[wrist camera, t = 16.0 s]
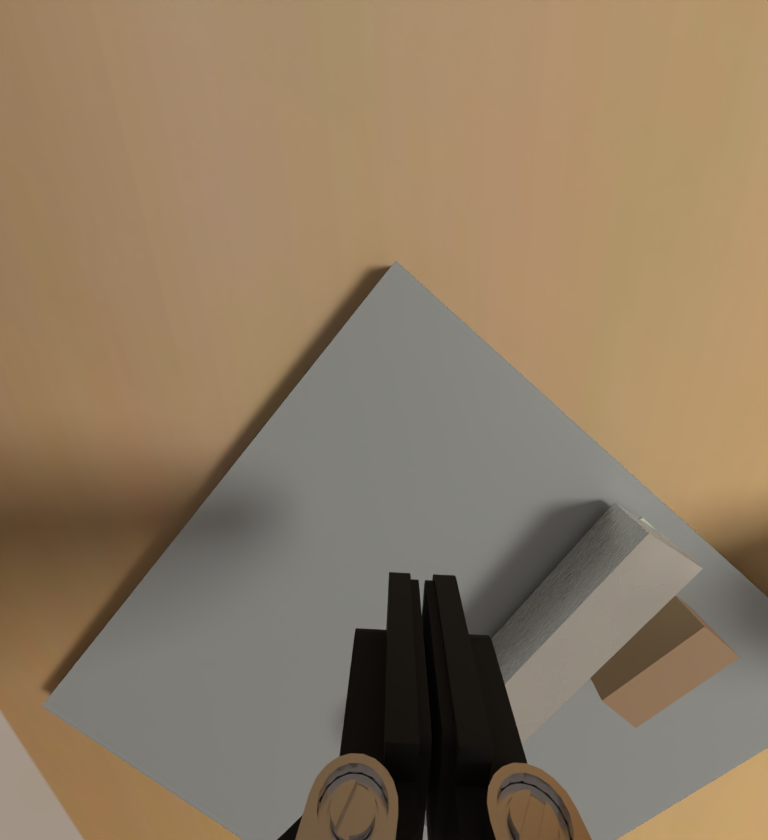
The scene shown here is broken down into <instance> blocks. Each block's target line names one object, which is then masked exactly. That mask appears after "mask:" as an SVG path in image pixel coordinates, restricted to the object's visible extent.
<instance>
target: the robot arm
mask: <svg viewBox="0 0 768 840" xmlns="http://www.w3.org/2000/svg"><path fill="white" fill-rule="evenodd" d="M425 812H426V820H427V837H428V840H592V839H591V837H590V835H589V833H588V831H587V828H586V826H585V824H584V822H583V820H582V818H581V816H580V814H579V812H578V810H577V808H576V806H575V805H574V803H573V801H572V800H571V798H570V796H569V795H568V793H567V792H566V791H565V789H564V788H563V787H562V786H561V785H560V784H559V783H558V782H557V781H556V780H555V779H554V778H553V777H552V776H550V775H549V774H547V773H546V772H544V771H543V770H542V769H540V768H537V767H535V766H532V765H530V764H528V763H527V760H526V757H525V753H524V750H523V746H522V743H521V739H520V736H519V732H518V729H517V725H516V722H515V718H514V715H513V712H512V708H511V705H510V701H509V698H508V694H507V691H506V687H505V684H504V680H503V677H502V673H501V670H500V667H499V663H498V660H497V656H496V653H495V649H494V646H493V643H492V640H491V638H490V636H489V635H475V634H469V633H468V629H467V624H466V620H465V615H464V611H463V606H462V602H461V597H460V593H459V588H458V584H457V579H456V576H455V575H437V574H434V575H433V578H432V580H425V583H424V594H423V607H422V612H421V601H420V589H419V580H415V579H411V575H410V573H397V572H389V583H388V604H387V624H386V630H381V629H362V628H356V629H355V635H354V643H353V651H352V659H351V667H350V675H349V683H348V691H347V699H346V707H345V715H344V723H343V732H342V740H341V748H340V756H339V757H337V758H336V759H334V760H333V761H331V762H330V763H328V764H327V765H326V766H325V767H324V768H323V770H322V771H321V772H320V773H319V774H318V776H317V777H316V779H315V781H314V783H313V786H312V788H311V790H310V792H309V796H308V799H307V802H306V806H305V809H304V812H303V815H302V816H301V817H300V818H299V819H298V820H297V821H296V822H295V823H294V824H293V825H292V826H291V827H290V828H289V829H288V830H287V831H286V832H285V833H283V834H282V835H281V836H280V837H279V838H278V839H277V840H423V832H424V822H425Z"/></svg>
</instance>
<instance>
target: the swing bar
mask: <svg viewBox="0 0 768 840" xmlns="http://www.w3.org/2000/svg"><path fill="white" fill-rule="evenodd" d="M702 569H703V568H702V567H701V566H699V565H698V564H697V563H696V562H695V561H694V560H692V559H691V558H690V557H689V556H688V555H687V554H685V553H684V552H683V551H682V550H681V549H680V548H678V547H677V546H676V545H675V544H674V543H672V542H671V541H670V540H669V539H668V538H667V537H665V536H664V535H663V534H662V533H661V532H659V531H658V530H656V529H655V528H653V527H651V526H650V525H648V524H647V523H645V522H644V521H642V520H641V519H639V518H638V517H636V516H635V515H633V514H632V513H630V512H629V511H627V510H625V509H624V508H622V507H621V506H619V505H618V504H616V503H615V502H614V503H613V505H612V506H611V507H610V508H609V509H608V510H607V511H606V512H605V513H604V515H603V516H602V517H601V518H600V519H599V520H598V521H597V522H596V523H595V525H594V526H593V527H592V528H591V529H590V530H589V531H588V532H587V533H586V534H585V536H584V537H583V538H582V539H581V540H580V541H579V542H578V543H577V544H576V546H575V547H574V548H573V549H572V550H571V551H570V552H569V553H568V554H567V556H566V557H565V558H564V559H563V560H562V561H561V562H560V563H559V564H558V566H557V567H556V568H555V569H554V570H553V571H552V572H551V573H550V574H549V576H548V577H547V578H546V579H545V580H544V581H543V582H542V583H541V584H540V586H539V587H538V588H537V589H536V590H535V591H534V592H533V593H532V594H531V596H530V597H529V598H528V599H527V600H526V601H525V602H524V603H523V604H522V606H521V607H520V608H519V609H518V610H517V611H516V612H515V613H514V614H513V616H512V617H511V618H510V619H509V620H508V621H507V622H506V623H505V624H504V626H503V627H502V628H501V629H500V630H499V631H498V632H497V633H496V634H495V636H494V637H493V638H492V639H491V640H492V643H493V646H494V649H495V653H496V656H497V660H498V663H499V667H500V670H501V673H502V677H503V680H504V684H505V687H506V691H507V694H508V698H509V701H510V705H511V708H512V712H513V715H514V718H515V722H516V725H517V729H518V732H519V736H520V739H521V743H522V744H523V743H524V742H525V741H526V740H527V739H528V738H529V737H530V736H531V735H532V734H533V733H534V732H535V731H536V730H537V729H538V728H539V727H540V726H541V725H542V724H543V723H544V722H545V721H546V720H547V719H548V718H549V717H550V716H552V715H553V714H554V713H555V712H556V711H557V710H558V709H559V708H560V707H561V706H562V705H563V704H564V703H565V702H566V701H567V700H568V699H569V698H570V697H571V696H572V695H573V694H574V693H575V692H576V691H577V690H578V689H579V688H580V687H581V686H582V685H583V684H584V683H586V682H587V681H588V680H589V679H590V678H591V677H592V676H593V675H594V674H595V673H596V672H597V671H598V670H599V669H600V668H601V667H602V666H603V665H604V664H605V663H606V662H607V661H608V660H609V659H610V658H611V657H612V656H613V655H614V654H615V653H616V652H617V651H619V650H620V649H621V648H622V647H623V646H624V645H625V644H626V643H627V642H628V641H629V640H630V639H631V638H632V637H633V636H634V635H635V634H636V633H637V632H638V631H639V630H640V629H641V628H642V627H643V626H644V625H645V624H646V623H647V622H648V621H649V620H650V619H652V618H653V617H654V616H655V615H656V614H657V613H658V612H659V611H660V610H661V609H662V608H663V607H664V606H665V605H666V604H667V603H668V602H669V601H670V600H671V599H672V598H673V597H674V596H675V595H676V594H677V593H678V592H679V591H680V590H681V589H682V588H683V587H685V586H686V585H687V584H688V583H689V582H690V581H691V580H692V579H693V578H694V577H695V576H696V575H697V574H698V573H699V572H700V571H701V570H702ZM424 825H425V826H427V820H426V812H425V822H424Z"/></svg>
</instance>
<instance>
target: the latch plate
mask: <svg viewBox="0 0 768 840" xmlns="http://www.w3.org/2000/svg"><path fill="white" fill-rule="evenodd" d="M614 502H615V503H616V504H618V505H619V506H621V507H622V508H624V509H625V510H627V511H629V512H630V513H632V514H633V515H635V516H636V517H638V518H639V519H641V520H642V521H644V522H645V523H647V524H648V525H650V526H651V527H653V528H655V529H656V530H658V531H659V532H661V533H662V534H663V535H664V536H665V537H667V538H668V539H669V540H670V541H671V542H672V543H674V544H675V545H676V546H677V547H678V548H680V549H681V550H682V551H683V552H684V553H685V554H687V555H688V556H689V557H690V558H691V559H692V560H694V561H695V562H696V563H697V564H698V565H699V566H701V567H702V568H703V569H702V570H701V571H700V572H699V573H698V574H697V575H696V576H695V577H694V578H693V579H692V580H691V581H690V582H689V583H688V584H687V585H686V586H685V587H683V588H682V589H681V590H680V591H679V592H678V593H677V594H676V595H675V596H674V597H673V598H672V599H671V600H670V601H669V602H668V603H667V604H666V605H665V606H664V607H663V608H662V609H661V610H660V611H659V612H658V613H657V614H656V615H655V616H654V617H653V618H652V619H650V620H649V621H648V622H647V623H646V624H645V625H644V626H643V627H642V628H641V629H640V630H639V631H638V632H637V633H636V634H635V635H634V636H633V637H632V638H631V639H630V640H629V641H628V642H627V643H626V644H625V645H624V646H623V647H622V648H621V649H620V650H619V651H617V652H616V653H615V654H614V655H613V656H612V657H611V658H610V659H609V660H608V661H607V662H606V663H605V664H604V665H603V666H602V667H601V668H600V669H599V670H598V671H597V672H596V673H595V674H594V675H593V676H592V677H591V678H590V679H589V680H588V681H587V682H586V683H584V684H583V685H582V686H581V687H580V688H579V689H578V690H577V691H576V692H575V693H574V694H573V695H572V696H571V697H570V698H569V699H568V700H567V701H566V702H565V703H564V704H563V705H562V706H561V707H560V708H559V709H558V710H557V711H556V712H555V713H554V714H553V715H552V716H550V717H549V718H548V719H547V720H546V721H545V722H544V723H543V724H542V725H541V726H540V727H539V728H538V729H537V730H536V731H535V732H534V733H533V734H532V735H531V736H530V737H529V738H528V739H527V740H526V741H525V742H524V743H523V744H522V746H523V750H524V753H525V757H526V760H527V763H528V764H530V765H532V766H535V767H537V768H540V769H542V770H543V771H544V772H546V773H547V774H549V775H550V776H552V777H553V778H554V779H555V780H556V781H557V782H558V783H559V784H560V785H561V786H562V787H563V788H564V789H565V791H566V792H567V793H568V795H569V796H570V798H571V800H572V801H573V803H574V805H575V806H576V808H577V810H578V812H579V814H580V816H581V818H582V820H583V822H584V824H585V826H586V828H587V831H588V833H589V835H590V837H591V839H592V840H616V839H618V838H620V837H621V836H623V835H625V834H626V833H628V832H630V831H631V830H633V829H635V828H636V827H638V826H639V825H641V824H643V823H644V822H646V821H648V820H649V819H651V818H653V817H654V816H656V815H658V814H659V813H661V812H663V811H664V810H666V809H667V808H669V807H671V806H672V805H674V804H676V803H677V802H679V801H681V800H682V799H684V798H686V797H687V796H689V795H690V794H692V793H694V792H695V791H697V790H699V789H700V788H702V787H704V786H705V785H707V784H709V783H710V782H712V781H714V780H715V779H717V778H718V777H720V776H722V775H723V774H725V773H727V772H728V771H730V770H732V769H733V768H735V767H737V766H738V765H740V764H742V763H743V762H745V761H746V760H748V759H750V758H751V757H753V756H755V755H756V754H758V753H760V752H761V751H763V750H765V749H766V748H768V597H767V596H766V595H765V594H764V593H763V592H762V591H760V590H759V589H758V588H757V587H756V586H755V585H754V584H753V583H752V582H750V581H749V580H748V579H747V578H746V577H745V576H744V575H743V574H742V573H741V572H739V571H738V570H737V569H736V568H735V567H734V566H733V565H732V564H731V563H729V562H728V561H727V560H726V559H725V558H724V557H723V556H722V555H721V554H720V553H718V552H717V551H716V550H715V549H714V548H713V547H712V546H711V545H710V544H708V543H707V542H706V541H705V540H704V539H703V538H702V537H701V536H700V535H699V534H697V533H696V532H695V531H694V530H693V529H692V528H691V527H690V526H689V525H687V524H686V523H685V522H684V521H683V520H682V519H681V518H680V517H679V516H678V515H676V514H675V513H674V512H673V511H672V510H671V509H670V508H669V507H668V506H666V505H665V504H664V503H663V502H662V501H661V500H660V499H659V498H658V497H657V496H655V495H654V494H653V493H652V492H651V491H650V490H649V489H648V488H647V487H645V486H644V485H643V484H642V483H641V482H640V481H639V480H638V479H637V478H636V477H634V476H633V475H632V474H631V473H630V472H629V471H628V470H627V469H626V468H624V467H623V466H622V465H621V464H620V463H619V462H618V461H617V460H616V459H615V458H613V457H612V456H611V455H610V454H609V453H608V452H607V451H606V450H605V449H603V448H602V447H601V446H600V445H599V444H598V443H597V442H596V441H595V440H594V439H592V438H591V437H590V436H589V435H588V434H587V433H586V432H585V431H584V430H582V429H581V428H580V427H579V426H578V425H577V424H576V423H575V422H574V421H573V420H571V419H570V418H569V417H568V416H567V415H566V414H565V413H564V412H563V411H561V410H560V409H559V408H558V407H557V406H556V405H555V404H554V403H553V402H552V401H550V400H549V399H548V398H547V397H546V396H545V395H544V394H543V393H542V392H540V391H539V390H538V389H537V388H536V387H535V386H534V385H533V384H532V383H531V382H529V381H528V380H527V379H526V378H525V377H524V376H523V375H522V374H521V373H519V372H518V371H517V370H516V369H515V368H514V367H513V366H512V365H511V364H510V363H508V362H507V361H506V360H505V359H504V358H503V357H502V356H501V355H500V354H498V353H497V352H496V351H495V350H494V349H493V348H492V347H491V346H490V345H489V344H487V343H486V342H485V341H484V340H483V339H482V338H481V337H480V336H479V335H477V334H476V333H475V332H474V331H473V330H472V329H471V328H470V327H469V326H468V325H466V324H465V323H464V322H463V321H462V320H461V319H460V318H459V317H458V316H456V315H455V314H454V313H453V312H452V311H451V310H450V309H449V308H448V307H447V306H445V305H444V304H443V303H442V302H441V301H440V300H439V299H438V298H437V297H435V296H434V295H433V294H432V293H431V292H430V291H429V290H428V289H427V288H425V287H424V286H423V285H422V284H421V283H420V282H419V281H418V280H417V279H416V278H414V277H413V276H412V275H411V274H410V273H409V272H408V271H407V270H406V269H404V268H403V267H402V266H401V265H400V264H399V263H398V262H397V261H395V262H394V263H393V265H392V266H391V267H390V268H389V270H388V271H387V272H386V273H385V275H384V276H383V277H382V278H381V280H380V281H379V282H378V283H377V285H376V286H375V287H374V288H373V290H372V291H371V292H370V294H369V295H368V296H367V297H366V299H365V300H364V301H363V302H362V304H361V305H360V306H359V307H358V309H357V310H356V311H355V312H354V314H353V315H352V316H351V317H350V319H349V320H348V321H347V322H346V324H345V325H344V326H343V328H342V329H341V330H340V331H339V333H338V334H337V335H336V336H335V338H334V339H333V340H332V341H331V343H330V344H329V345H328V346H327V348H326V349H325V350H324V351H323V353H322V354H321V355H320V356H319V358H318V359H317V360H316V362H315V363H314V364H313V365H312V367H311V368H310V369H309V370H308V372H307V373H306V374H305V375H304V377H303V378H302V379H301V380H300V382H299V383H298V384H297V385H296V387H295V388H294V389H293V390H292V392H291V393H290V394H289V396H288V397H287V398H286V399H285V401H284V402H283V403H282V404H281V406H280V407H279V408H278V409H277V411H276V412H275V413H274V414H273V416H272V417H271V418H270V419H269V421H268V422H267V423H266V424H265V426H264V427H263V428H262V429H261V431H260V432H259V433H258V435H257V436H256V437H255V438H254V440H253V441H252V442H251V443H250V445H249V446H248V447H247V448H246V450H245V451H244V452H243V453H242V455H241V456H240V457H239V458H238V460H237V461H236V462H235V463H234V465H233V466H232V467H231V469H230V470H229V471H228V472H227V474H226V475H225V476H224V477H223V479H222V480H221V481H220V482H219V484H218V485H217V486H216V487H215V489H214V490H213V491H212V492H211V494H210V495H209V496H208V497H207V499H206V500H205V501H204V503H203V504H202V505H201V506H200V508H199V509H198V510H197V511H196V513H195V514H194V515H193V516H192V518H191V519H190V520H189V521H188V523H187V524H186V525H185V526H184V528H183V529H182V530H181V531H180V533H179V534H178V535H177V536H176V538H175V539H174V540H173V542H172V543H171V544H170V545H169V547H168V548H167V549H166V550H165V552H164V553H163V554H162V555H161V557H160V558H159V559H158V560H157V562H156V563H155V564H154V565H153V567H152V568H151V569H150V570H149V572H148V573H147V574H146V576H145V577H144V578H143V579H142V581H141V582H140V583H139V584H138V586H137V587H136V588H135V589H134V591H133V592H132V593H131V594H130V596H129V597H128V598H127V599H126V601H125V602H124V603H123V604H122V606H121V607H120V608H119V610H118V611H117V612H116V613H115V615H114V616H113V617H112V618H111V620H110V621H109V622H108V623H107V625H106V626H105V627H104V628H103V630H102V631H101V632H100V633H99V635H98V636H97V637H96V638H95V640H94V641H93V642H92V644H91V645H90V646H89V647H88V649H87V650H86V651H85V652H84V654H83V655H82V656H81V657H80V659H79V660H78V661H77V662H76V664H75V665H74V666H73V667H72V669H71V670H70V671H69V672H68V674H67V675H66V676H65V677H64V679H63V680H62V681H61V683H60V684H59V685H58V686H57V688H56V689H55V690H54V691H53V693H52V694H51V695H50V696H49V698H48V699H47V700H46V701H45V703H44V704H43V705H42V707H44V708H45V709H47V710H48V711H50V712H51V713H53V714H54V715H56V716H57V717H59V718H60V719H62V720H63V721H65V722H66V723H68V724H69V725H71V726H72V727H74V728H75V729H77V730H78V731H80V732H81V733H83V734H84V735H86V736H87V737H89V738H90V739H92V740H93V741H95V742H96V743H98V744H99V745H101V746H103V747H104V748H106V749H107V750H109V751H110V752H112V753H113V754H115V755H116V756H118V757H119V758H121V759H122V760H124V761H125V762H127V763H128V764H130V765H131V766H133V767H134V768H136V769H137V770H139V771H140V772H142V773H143V774H145V775H146V776H148V777H149V778H151V779H152V780H154V781H155V782H157V783H158V784H160V785H161V786H163V787H164V788H166V789H167V790H169V791H170V792H172V793H173V794H175V795H176V796H178V797H179V798H181V799H182V800H184V801H185V802H187V803H188V804H190V805H191V806H193V807H194V808H196V809H197V810H199V811H200V812H202V813H203V814H205V815H206V816H208V817H209V818H211V819H212V820H214V821H215V822H217V823H218V824H220V825H221V826H223V827H224V828H226V829H227V830H229V831H230V832H232V833H233V834H235V835H236V836H238V837H239V838H241V839H242V840H277V839H278V838H279V837H280V836H281V835H282V834H283V833H285V832H286V831H287V830H288V829H289V828H290V827H291V826H292V825H293V824H294V823H295V822H296V821H297V820H298V819H299V818H300V817H301V816H302V815H303V812H304V809H305V806H306V802H307V799H308V796H309V792H310V790H311V788H312V786H313V783H314V781H315V779H316V777H317V776H318V774H319V773H320V772H321V771H322V770H323V768H324V767H325V766H326V765H327V764H328V763H330V762H331V761H333V760H334V759H336V758H337V757H339V756H340V748H341V740H342V732H343V723H344V715H345V707H346V699H347V691H348V683H349V675H350V667H351V659H352V651H353V643H354V635H355V629H356V628H362V629H381V630H386V624H387V604H388V583H389V572H397V573H410V575H411V579H415V580H419V589H420V601H421V612H422V607H423V594H424V583H425V580H432V578H433V575H434V574H437V575H455V576H456V579H457V584H458V588H459V593H460V597H461V602H462V606H463V611H464V615H465V620H466V624H467V629H468V633H469V634H475V635H489V636H490V638H491V639H492V638H493V637H494V636H495V634H496V633H497V632H498V631H499V630H500V629H501V628H502V627H503V626H504V624H505V623H506V622H507V621H508V620H509V619H510V618H511V617H512V616H513V614H514V613H515V612H516V611H517V610H518V609H519V608H520V607H521V606H522V604H523V603H524V602H525V601H526V600H527V599H528V598H529V597H530V596H531V594H532V593H533V592H534V591H535V590H536V589H537V588H538V587H539V586H540V584H541V583H542V582H543V581H544V580H545V579H546V578H547V577H548V576H549V574H550V573H551V572H552V571H553V570H554V569H555V568H556V567H557V566H558V564H559V563H560V562H561V561H562V560H563V559H564V558H565V557H566V556H567V554H568V553H569V552H570V551H571V550H572V549H573V548H574V547H575V546H576V544H577V543H578V542H579V541H580V540H581V539H582V538H583V537H584V536H585V534H586V533H587V532H588V531H589V530H590V529H591V528H592V527H593V526H594V525H595V523H596V522H597V521H598V520H599V519H600V518H601V517H602V516H603V515H604V513H605V512H606V511H607V510H608V509H609V508H610V507H611V506H612V505H613V503H614ZM423 840H428V837H427V826H425V825H424V832H423Z"/></svg>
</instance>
